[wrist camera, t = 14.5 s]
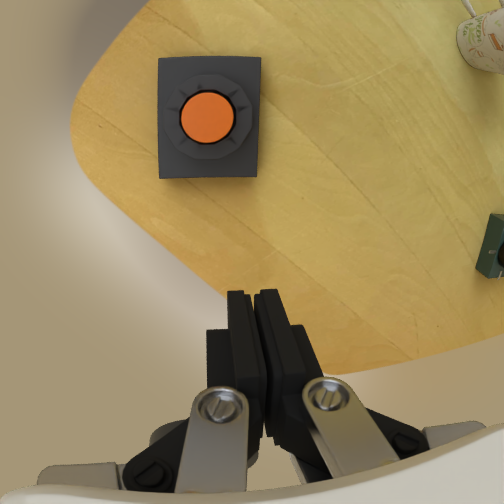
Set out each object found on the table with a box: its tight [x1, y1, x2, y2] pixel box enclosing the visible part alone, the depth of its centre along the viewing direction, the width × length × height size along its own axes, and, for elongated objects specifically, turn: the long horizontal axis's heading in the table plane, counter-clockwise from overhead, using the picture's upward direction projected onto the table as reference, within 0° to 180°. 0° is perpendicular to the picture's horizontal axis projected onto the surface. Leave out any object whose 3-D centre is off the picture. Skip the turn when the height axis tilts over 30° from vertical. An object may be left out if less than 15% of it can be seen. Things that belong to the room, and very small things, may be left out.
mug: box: [457, 0, 504, 75], centre depth 18 cm, size 8×13×10 cm, turn 38°
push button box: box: [158, 56, 261, 179], centre depth 24 cm, size 10×8×4 cm
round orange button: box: [181, 93, 234, 143], centre depth 21 cm, size 4×4×2 cm
